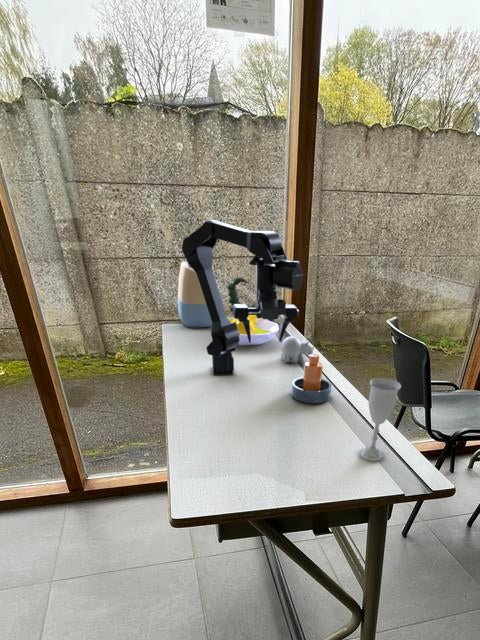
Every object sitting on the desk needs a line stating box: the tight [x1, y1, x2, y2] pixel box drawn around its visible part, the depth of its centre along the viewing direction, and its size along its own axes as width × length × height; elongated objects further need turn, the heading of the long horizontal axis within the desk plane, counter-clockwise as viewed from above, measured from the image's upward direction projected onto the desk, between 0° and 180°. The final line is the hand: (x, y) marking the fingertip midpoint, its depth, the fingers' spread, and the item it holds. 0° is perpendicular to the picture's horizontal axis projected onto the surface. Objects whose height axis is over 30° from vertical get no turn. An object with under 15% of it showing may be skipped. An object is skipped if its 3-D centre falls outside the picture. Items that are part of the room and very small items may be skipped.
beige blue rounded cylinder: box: [177, 261, 212, 328], centre depth 184 cm, size 17×17×23 cm
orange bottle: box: [303, 353, 323, 391], centre depth 129 cm, size 5×5×12 cm
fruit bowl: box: [227, 315, 279, 347], centre depth 172 cm, size 28×27×11 cm
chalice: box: [360, 377, 402, 462], centre depth 100 cm, size 7×7×18 cm
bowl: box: [291, 376, 332, 405], centre depth 132 cm, size 12×12×4 cm
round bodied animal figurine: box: [280, 335, 315, 364], centre depth 156 cm, size 7×12×8 cm, turn 98°
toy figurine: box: [227, 276, 275, 322], centre depth 194 cm, size 9×19×25 cm
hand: (264, 342), depth 131 cm, fingers open, 9 cm apart
